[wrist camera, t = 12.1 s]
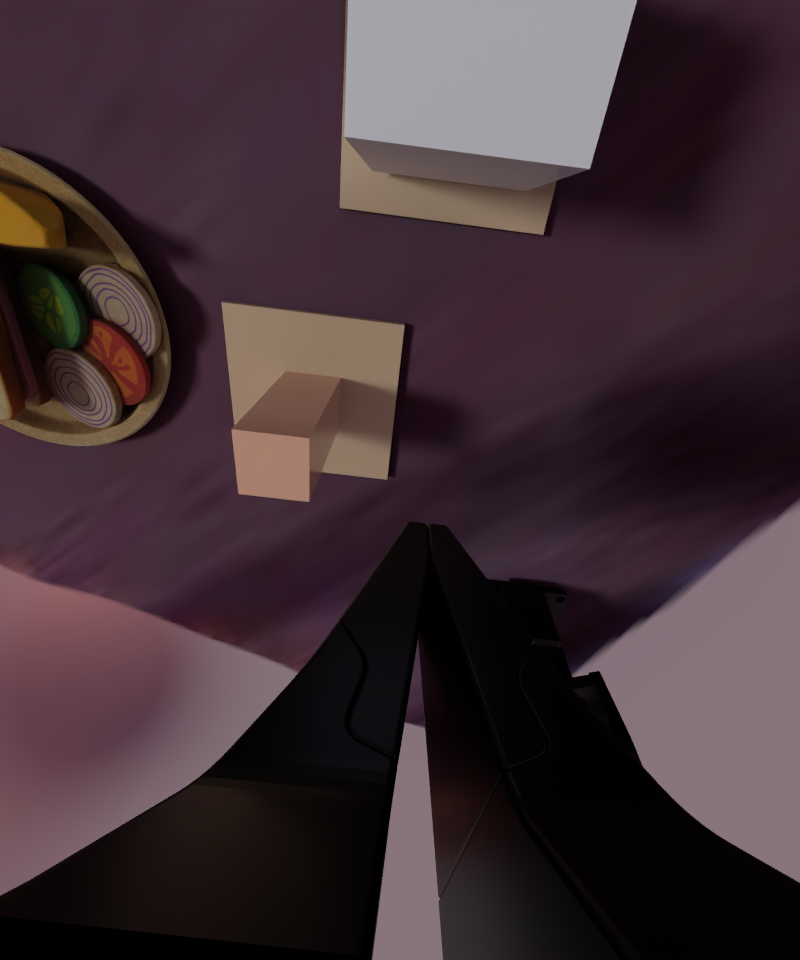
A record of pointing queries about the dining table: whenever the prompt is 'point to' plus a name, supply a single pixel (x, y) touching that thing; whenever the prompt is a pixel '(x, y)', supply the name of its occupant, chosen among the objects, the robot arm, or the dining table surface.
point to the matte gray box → (481, 86)
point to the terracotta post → (309, 396)
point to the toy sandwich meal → (73, 316)
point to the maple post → (438, 194)
